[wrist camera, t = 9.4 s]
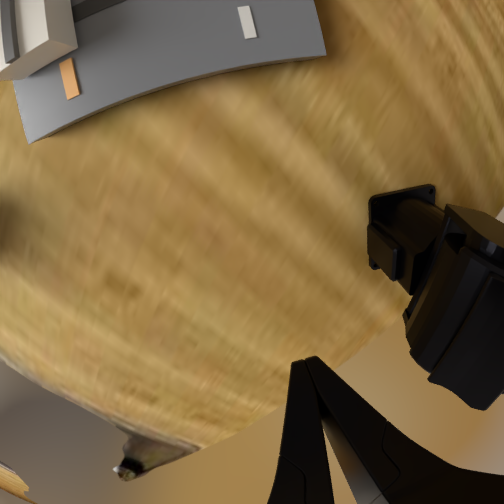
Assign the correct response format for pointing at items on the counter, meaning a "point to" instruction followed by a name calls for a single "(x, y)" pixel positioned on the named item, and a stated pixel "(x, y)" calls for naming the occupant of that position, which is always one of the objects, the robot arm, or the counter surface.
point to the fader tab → (33, 35)
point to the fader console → (160, 52)
